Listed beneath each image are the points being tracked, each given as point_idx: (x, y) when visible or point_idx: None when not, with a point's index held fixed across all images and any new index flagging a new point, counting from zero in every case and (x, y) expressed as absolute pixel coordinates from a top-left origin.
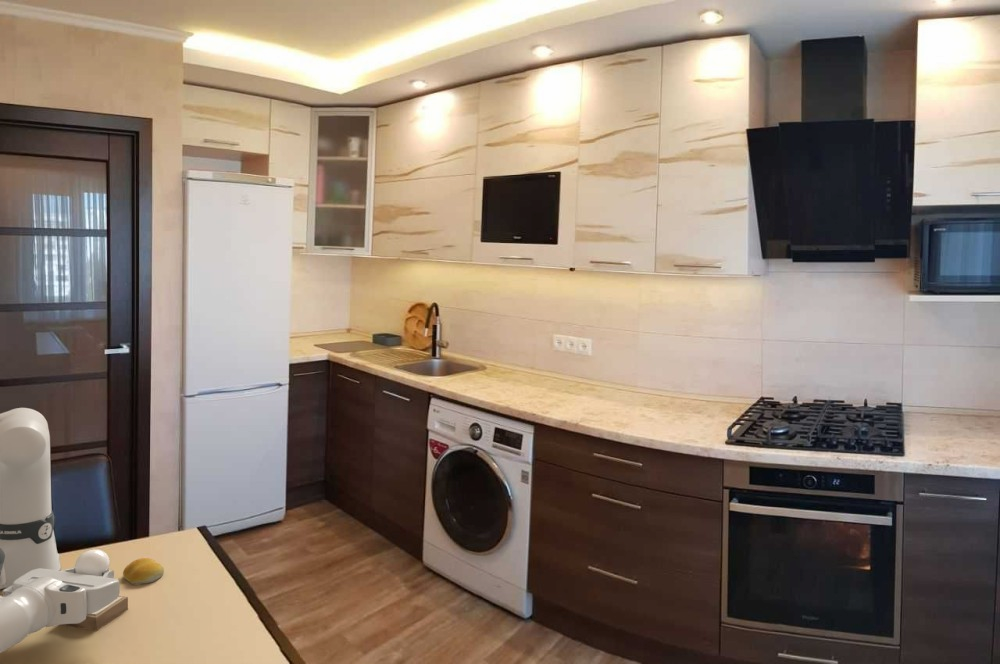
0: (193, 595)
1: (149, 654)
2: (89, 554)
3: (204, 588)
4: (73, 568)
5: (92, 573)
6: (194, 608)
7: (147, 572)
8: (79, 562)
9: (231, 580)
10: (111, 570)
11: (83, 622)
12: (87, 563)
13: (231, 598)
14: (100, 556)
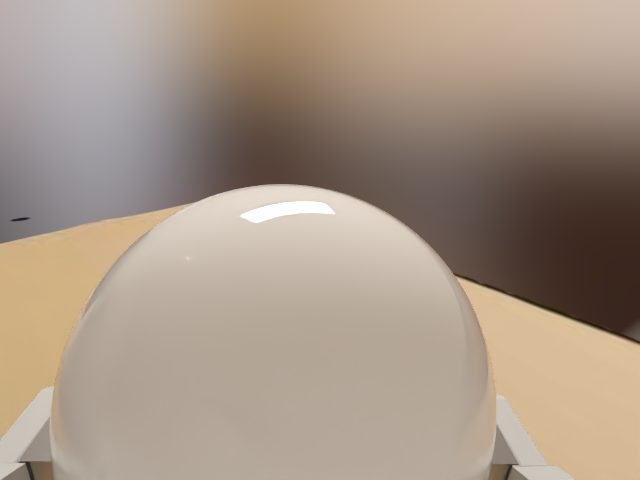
0: (511, 370)
1: None
2: (331, 252)
3: (491, 335)
4: (14, 459)
5: None
6: (632, 441)
7: None
8: (192, 449)
9: (505, 298)
10: (499, 401)
11: None
12: (393, 443)
13: (634, 363)
14: (447, 269)
